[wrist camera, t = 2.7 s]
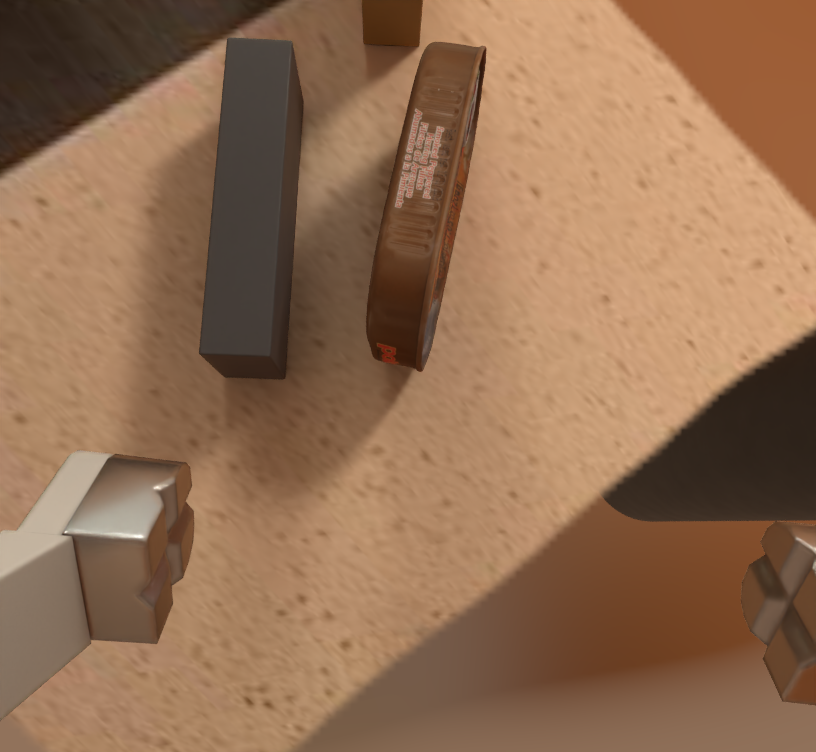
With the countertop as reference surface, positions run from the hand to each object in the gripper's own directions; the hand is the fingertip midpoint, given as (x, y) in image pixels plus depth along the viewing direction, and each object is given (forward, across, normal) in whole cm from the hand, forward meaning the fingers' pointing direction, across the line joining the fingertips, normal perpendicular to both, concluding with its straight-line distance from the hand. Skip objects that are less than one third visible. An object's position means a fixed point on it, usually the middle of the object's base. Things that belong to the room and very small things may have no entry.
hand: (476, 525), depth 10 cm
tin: (+28, 0, +6) cm, 29 cm away
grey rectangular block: (+28, +8, +7) cm, 30 cm away
